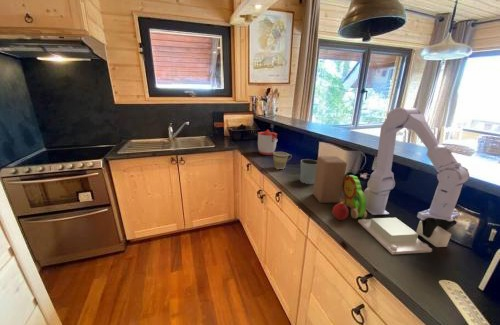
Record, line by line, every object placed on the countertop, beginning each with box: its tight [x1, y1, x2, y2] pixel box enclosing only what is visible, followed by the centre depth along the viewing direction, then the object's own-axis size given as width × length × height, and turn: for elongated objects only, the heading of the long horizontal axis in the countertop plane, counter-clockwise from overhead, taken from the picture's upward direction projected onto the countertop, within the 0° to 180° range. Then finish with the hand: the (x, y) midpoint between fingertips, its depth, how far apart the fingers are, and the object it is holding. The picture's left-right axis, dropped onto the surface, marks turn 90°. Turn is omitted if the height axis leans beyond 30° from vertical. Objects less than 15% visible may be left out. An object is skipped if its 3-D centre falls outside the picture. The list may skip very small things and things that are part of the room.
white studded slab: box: [357, 217, 433, 255], centre depth 76 cm, size 18×14×4 cm
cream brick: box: [415, 220, 452, 248], centre depth 74 cm, size 8×4×5 cm, turn 6°
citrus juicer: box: [257, 129, 278, 156], centre depth 172 cm, size 16×17×20 cm
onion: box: [332, 202, 349, 221], centre depth 84 cm, size 6×6×8 cm
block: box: [312, 155, 347, 204], centre depth 99 cm, size 10×10×20 cm
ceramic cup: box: [272, 151, 293, 170], centre depth 141 cm, size 13×10×10 cm
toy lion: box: [338, 174, 368, 219], centre depth 90 cm, size 16×5×15 cm, turn 5°
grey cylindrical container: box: [299, 158, 317, 185], centre depth 120 cm, size 10×10×12 cm
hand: (431, 235), depth 75 cm, fingers closed on cream brick, 4 cm apart
